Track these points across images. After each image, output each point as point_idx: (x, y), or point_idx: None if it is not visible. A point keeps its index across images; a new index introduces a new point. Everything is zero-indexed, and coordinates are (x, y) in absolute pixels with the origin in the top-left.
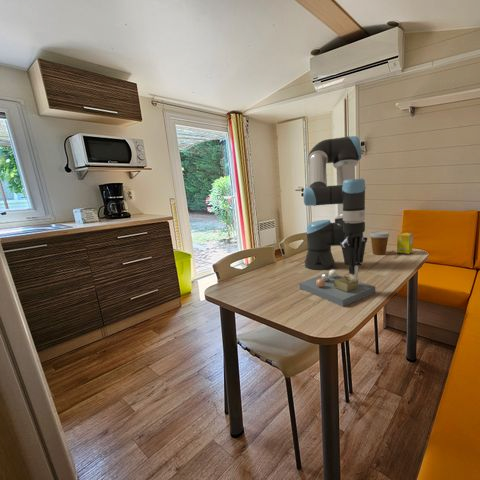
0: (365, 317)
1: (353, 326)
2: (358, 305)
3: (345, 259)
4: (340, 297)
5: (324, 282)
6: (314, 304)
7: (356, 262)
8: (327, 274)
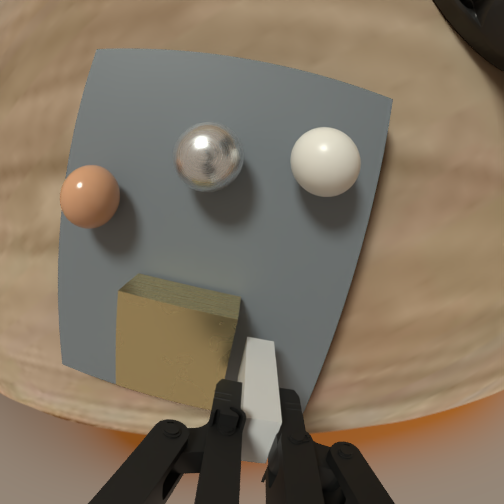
0: (80, 421)
1: (27, 402)
2: (128, 391)
3: (125, 473)
4: (71, 349)
5: (89, 228)
6: (20, 246)
7: (274, 472)
8: (200, 176)
